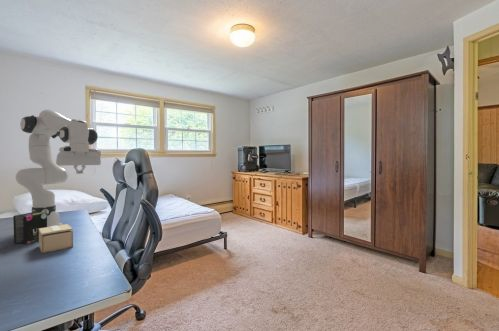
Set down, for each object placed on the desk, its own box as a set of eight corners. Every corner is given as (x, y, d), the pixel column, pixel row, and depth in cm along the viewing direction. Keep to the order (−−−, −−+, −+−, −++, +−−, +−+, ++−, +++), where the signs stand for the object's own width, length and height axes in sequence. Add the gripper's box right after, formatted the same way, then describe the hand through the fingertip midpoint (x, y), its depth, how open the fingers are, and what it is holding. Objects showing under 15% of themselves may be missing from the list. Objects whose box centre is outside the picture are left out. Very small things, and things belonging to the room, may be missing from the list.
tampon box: (27, 244, 127) (26, 216, 126) (13, 243, 129) (12, 215, 128) (48, 237, 138) (47, 212, 137) (35, 236, 139) (34, 211, 139)
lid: (38, 230, 124) (38, 228, 124) (67, 225, 133) (67, 223, 133) (41, 235, 114) (41, 233, 114) (72, 229, 123) (72, 228, 123)
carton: (39, 246, 124) (38, 230, 124) (67, 240, 133) (67, 226, 132) (42, 253, 114) (41, 236, 114) (73, 246, 123) (72, 231, 123)
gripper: (99, 149, 144) (99, 172, 144) (55, 148, 129) (55, 174, 130) (102, 149, 140) (102, 173, 140) (57, 148, 125) (57, 174, 125)
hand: (79, 173), depth 135 cm, fingers closed
